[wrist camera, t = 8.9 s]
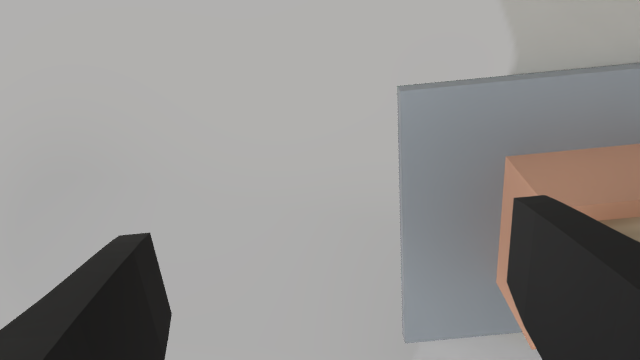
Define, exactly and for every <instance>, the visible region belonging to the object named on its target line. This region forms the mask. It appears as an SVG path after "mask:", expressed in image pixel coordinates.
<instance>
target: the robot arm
mask: <svg viewBox="0 0 640 360" xmlns="http://www.w3.org/2000/svg"><path fill="white" fill-rule="evenodd" d="M507 284H508V287H509V290H510V292H511V295H512V298H513V300H514V303H515V306H516V308H517V310H518V313H519V315H520V318H521V320H522V323H523V325H524V327H525V329H526V331H527V332H528V334H529V336H530V338H531V340H532V342H533V343H534V345H535V347H536V349H537V351H538V352H539V354H540V356H541V358H542V360H640V242H638V241H636V240H634V239H632V238H630V237H628V236H626V235H624V234H622V233H620V232H618V231H616V230H614V229H613V228H611V227H609V226H607V225H605V224H603V223H601V222H599V221H597V220H595V219H593V218H591V217H589V216H588V215H586V214H584V213H582V212H580V211H578V210H576V209H574V208H572V207H570V206H568V205H566V204H564V203H562V202H560V201H558V200H556V199H553V198H551V197H549V196H546V195H539V196H529V197H518V198H514V201H513V212H512V224H511V236H510V247H509V259H508V271H507ZM170 321H171V310H170V306H169V302H168V299H167V295H166V291H165V287H164V284H163V280H162V276H161V272H160V269H159V265H158V261H157V257H156V254H155V250H154V246H153V242H152V238H151V235H150V233H142V234H132V235H123V236H118V237H117V238H116V239H114V240H112V241H111V242H110V243H109V244H107V245H106V246H105V247H104V248H102V249H101V250H100V251H99V252H97V253H96V254H95V255H94V256H93V257H91V258H90V259H89V260H88V261H87V262H85V263H84V264H83V265H82V266H81V267H79V268H78V269H77V270H76V271H75V272H73V273H72V274H71V275H70V276H69V277H67V278H66V279H65V280H64V281H63V282H62V283H60V284H59V285H58V286H56V287H55V288H54V289H53V290H52V291H51V292H49V293H48V294H47V295H46V296H44V297H43V298H42V299H41V300H39V301H38V302H37V303H35V304H34V305H33V306H31V307H30V308H29V309H27V310H26V311H25V312H23V313H22V314H21V315H19V316H18V317H17V318H16V319H14V320H13V321H12V322H10V323H9V324H8V325H6V326H5V327H4V328H3V329H1V330H0V360H164V359H165V353H166V347H167V341H168V335H169V328H170Z"/></svg>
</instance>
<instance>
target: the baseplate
mask: <svg viewBox="0 0 640 360" xmlns="http://www.w3.org/2000/svg"><path fill="white" fill-rule="evenodd" d="M397 95H398V139H399V140H398V142H399V186H400V187H399V188H400V231H401V280H402V326H403V337H404V341H405V343H414V342H424V341H435V340H445V339H455V338H466V337H476V336H487V335H497V334H507V333H518V332H522V330H521V328H520V326H519V324H518V323H517V321H516V319H515V317H514V315H513V313H512V311H511V309H510V307H509V306H508V304H507V302H506V300H505V298H504V296H503V294H502V292H501V290H500V289H499V287H498V285H497V283H496V278H497V265H498V251H499V238H500V225H501V212H502V198H503V185H504V172H505V159H506V156H516V155H526V154H537V153H547V152H558V151H568V150H579V149H589V148H599V147H610V146H620V145H631V144H640V63H634V64H623V65H613V66H603V67H592V68H582V69H571V70H561V71H550V72H540V73H529V74H519V75H508V76H499V77H489V78H477V79H467V80H456V81H446V82H435V83H425V84H414V85H404V86H397Z"/></svg>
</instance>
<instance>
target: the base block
mask: <svg viewBox="0 0 640 360" xmlns="http://www.w3.org/2000/svg"><path fill="white" fill-rule="evenodd" d="M539 195H546V196H549V197H551V198H553V199H556V200H558V201H560V202H562V203H564V204H566V205H568V206H570V207H572V208H574V209H576V210H578V211H580V212H582V213H584V214H586V215H588V216H589V217H591V218H593V219H595V220H597V221H600V220H611V219H621V218H631V217H640V144H631V145H620V146H610V147H599V148H589V149H579V150H568V151H558V152H547V153H537V154H526V155H516V156H506V159H505V172H504V185H503V198H502V212H501V225H500V238H499V251H498V265H497V278H496V283H497V285H498V287H499V289H500V290H501V292H502V294H503V296H504V298H505V300H506V302H507V304H508V306H509V307H510V309H511V311H512V313H513V315H514V317H515V319H516V321H517V323H518V324H519V326H520V328H521V330H522V332H523V334H524V336H525V338H526V340H527V341H528V343H529V345H530V347H531V349H536V347H535V345H534V343H533V342H532V340H531V338H530V336H529V334H528V332H527V331H526V329H525V327H524V325H523V323H522V320H521V318H520V315H519V313H518V310H517V308H516V306H515V303H514V300H513V298H512V295H511V292H510V290H509V287H508V284H507V271H508V259H509V247H510V236H511V224H512V212H513V201H514V198H518V197H529V196H539Z"/></svg>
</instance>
